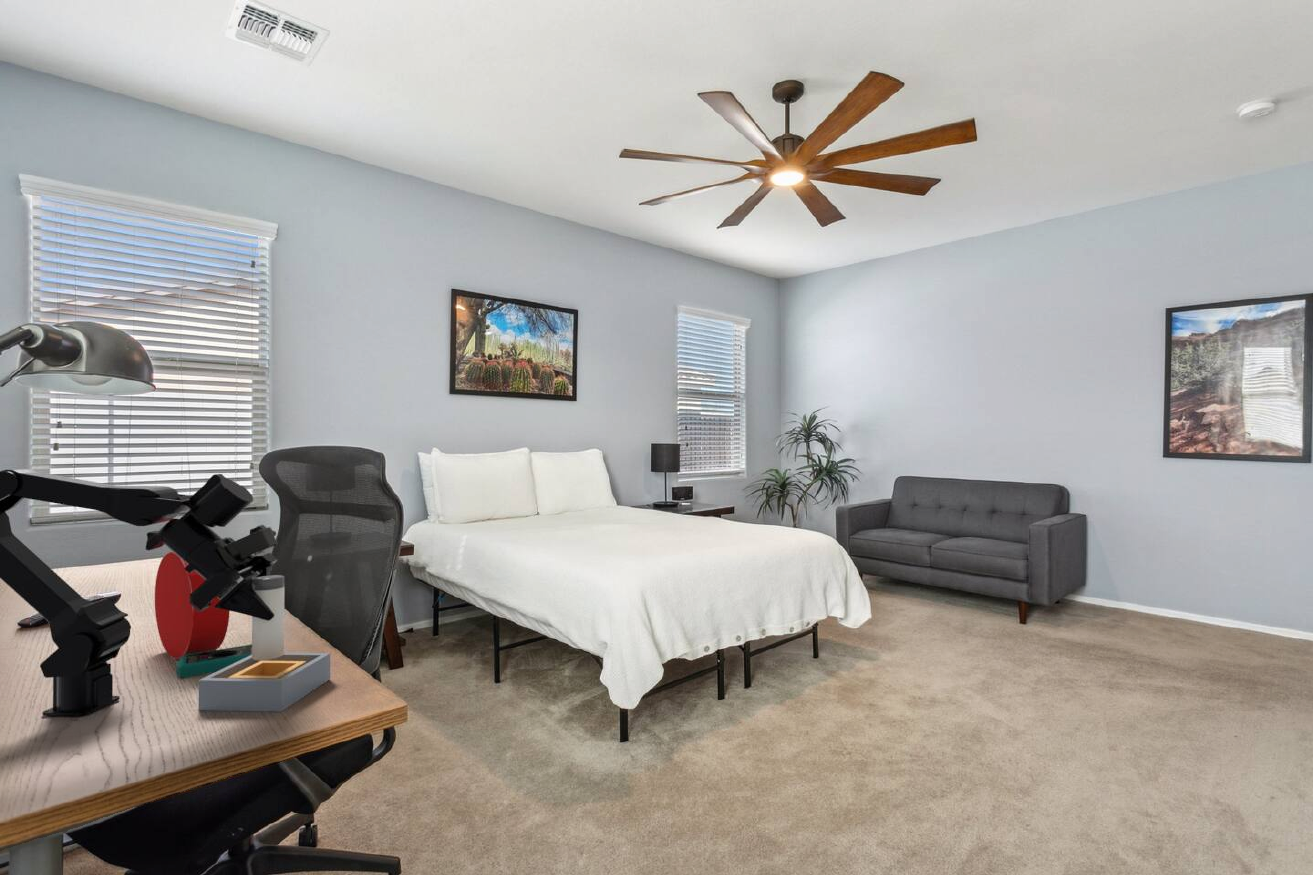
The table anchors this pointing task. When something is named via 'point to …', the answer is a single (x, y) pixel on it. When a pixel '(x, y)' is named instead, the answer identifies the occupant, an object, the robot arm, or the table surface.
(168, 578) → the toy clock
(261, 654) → the grey capped shaker bottle
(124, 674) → the table surface
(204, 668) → the digital multimeter
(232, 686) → the box
